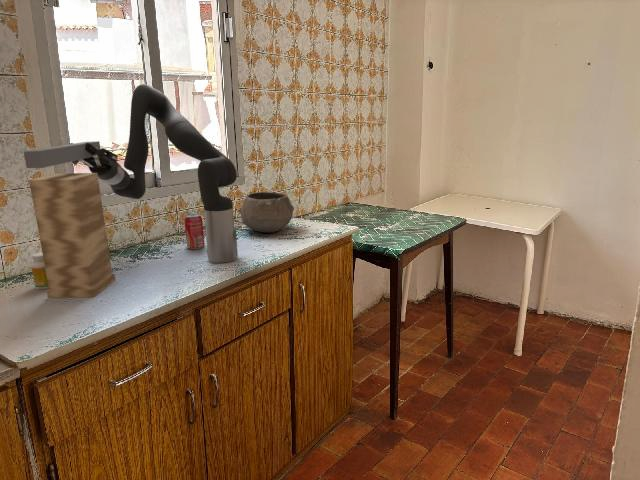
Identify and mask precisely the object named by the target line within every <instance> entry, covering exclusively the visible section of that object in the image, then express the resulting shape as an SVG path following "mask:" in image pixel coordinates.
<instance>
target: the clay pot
mask: <svg viewBox="0 0 640 480" xmlns="http://www.w3.org/2000/svg"><path fill="white" fill-rule="evenodd" d="M294 210H295V208H294V205H292V202H291V199H290V198H289V197H288V195H287V194H285V193H281V192H280V193H279V192H270V191H263V192H262V191H259V192H252V193H248V194H247V195H246V197H245V198H244V199H243V201H242V204H241V207H240V208H239V210H238V213H239V214H240V218H241V221H242V223H243V224H244V225H245V226H246V227H247V228H249V229H251V230H253V231H256V232H260V233H268V234H269V233H270V234H271V233H275V232H278V231H280V230H283V229H284V228H286V227H287V226H288V225H289V224H290V222H291V221H292V218H293V216H294V215H293V214H294Z"/></svg>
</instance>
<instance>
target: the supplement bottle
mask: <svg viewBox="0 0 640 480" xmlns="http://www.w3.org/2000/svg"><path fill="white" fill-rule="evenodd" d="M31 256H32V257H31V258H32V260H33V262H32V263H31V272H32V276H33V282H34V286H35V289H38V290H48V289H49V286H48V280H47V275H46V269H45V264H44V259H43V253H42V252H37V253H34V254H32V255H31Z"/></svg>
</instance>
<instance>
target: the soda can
mask: <svg viewBox="0 0 640 480" xmlns="http://www.w3.org/2000/svg"><path fill="white" fill-rule="evenodd" d="M183 222H184V231H185V240H186V241H185V242H186V243H185V244H186V248H188V249H189V250H200V249H203V248H204V247H205V246H206V245H205V244H206V243H205V236H204V226H203V225H204V224H203V222H204V221H203V218H202V216H201V214H200V213H189V214H186V215H185V216H184V220H183Z"/></svg>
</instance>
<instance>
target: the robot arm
mask: <svg viewBox="0 0 640 480" xmlns="http://www.w3.org/2000/svg"><path fill="white" fill-rule="evenodd" d="M146 115H149V116H150V117H152V118H154V119H155V120H157V121H158V122H159V123H160V124H162V126H163V127H164V133H165V136H166V137H167V139H168V140H169V142H170V143H171V144H172V145H173V146H174V147H175V148H176V149H177V150H178V151H180V152H181V153H182V154H184V155H186V156H188V157H190V158H193V159H195V160H197V161H199V163H198V166H197V180H198V187H199V193H200V199H201V202H202V206H203V215H204V226H205V227H204V229H205V237H206V248H207V260H208V261H209V262H211V263H213V264H215V263H216V264H223V263H229V262H230V263H231V262H235V261H236V260H237V258H238V255H239V254H238V239H237V229H236V228H235V222H234V221H235V220H234V208H233V200H232V198H230V197H227V196H222V194H220V190H219V189H220V188H224V187H228V186H231V185H233V184H234V183H235V182H236V181H237V178H238V177H237V176H238V173H237V169H236V166H235V164H234V163H233V161H232V160H231V159H230V158H229V157H227V156H226V155H225V154H224V153H223V152H221V151H220V150H219V149H218V148H216V147H215V146H214V145H213V144H212V143H210V142H209V141H208V139H206V137H205V136H203V134H201V132H199V130H198V129H197V128H196V127H195V126H194V125H193V124H192V123H191V122H190V121H189V120H188V119H187V118H186V117H185V116H184V115H182V114H181V113H180V112H179V111H178V110H177V109H176V107H175V106H174V105H173V103H172V102H171V101H170V100H169V98H168V97H167V96H166V94H164V92H162V91H160V90H158V89H156V88H154V87H153V86H150V85H149V84H147V83H141V84H139V85H137V86H136V88H135V89H134V91H133V93H132V96H131V103H130V116H129V117H130V119H129V121H130V122H129V135H128V141H127V142H128V143H127V144H128V145H127V149H126V153H125V157H124V161H123V166H122V165H121V164H120V163H118V157H119V156H118V155H117V154H116V153H114V152H111V151H110V150H108V149H106V148H101V147H100V149H101V150H99V149H98V148H95V147H94V146H93V145H91V144H90V143H86V145H85V150H86V151H88V152H89V153H90V154H91V155H93V156H94V157H90V158H85V159H81V160H76V161H72V164H73V165H78V164H79V163H82V164H83V165H84V166H87V167H88V169H89V171H90V173H97V174H98V180H99V179H100V181H102V182H103V183H105V184H107V185H109V186H110V187H111V190H112V192H113V193H114V194H115V195H118V196H120V197H124V198H128V199H133V200H139V199H140V200H141V199H142V198H143V197H144V195H145V193H146V190H147V189H146V188H147V187H146V184H147V183H146V165H147V160H148V156H149V151H150V150H149V149H150V148H149V142H148V141H149V140H148V136H147V130H146ZM69 144H75V143H74V142H73V143H72V142H70V143H69ZM123 167H124V168H125V169H126V170H125V169H124V168H123ZM128 171H130V172H132V173H133V176H134V177H131V175H130V174H129V173H128Z"/></svg>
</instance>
